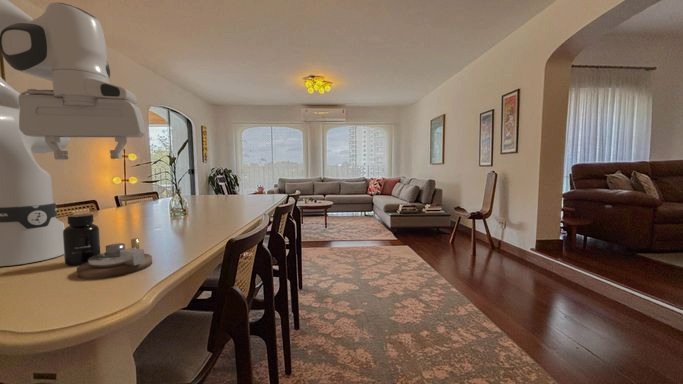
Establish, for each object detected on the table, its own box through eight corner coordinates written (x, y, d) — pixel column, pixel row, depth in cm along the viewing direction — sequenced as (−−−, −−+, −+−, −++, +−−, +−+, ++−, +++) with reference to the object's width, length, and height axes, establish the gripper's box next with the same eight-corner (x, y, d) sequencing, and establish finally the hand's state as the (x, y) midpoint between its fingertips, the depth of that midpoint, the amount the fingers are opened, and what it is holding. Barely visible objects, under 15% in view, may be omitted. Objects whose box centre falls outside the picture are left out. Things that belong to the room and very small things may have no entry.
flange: (78, 264, 66) (77, 248, 66) (124, 252, 75) (123, 238, 75) (115, 271, 61) (114, 254, 61) (160, 257, 71) (159, 243, 70)
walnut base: (62, 274, 65) (60, 250, 65) (128, 256, 78) (126, 236, 78) (102, 282, 60) (100, 256, 60) (165, 262, 73) (164, 240, 73)
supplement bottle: (80, 267, 70) (75, 217, 69) (57, 265, 71) (53, 217, 70) (108, 258, 77) (104, 213, 76) (87, 257, 78) (83, 212, 77)
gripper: (5, 83, 54) (13, 159, 55) (134, 89, 60) (140, 157, 61) (29, 92, 60) (37, 160, 61) (145, 97, 66) (150, 158, 67)
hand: (89, 159), depth 61 cm, fingers open, 8 cm apart
